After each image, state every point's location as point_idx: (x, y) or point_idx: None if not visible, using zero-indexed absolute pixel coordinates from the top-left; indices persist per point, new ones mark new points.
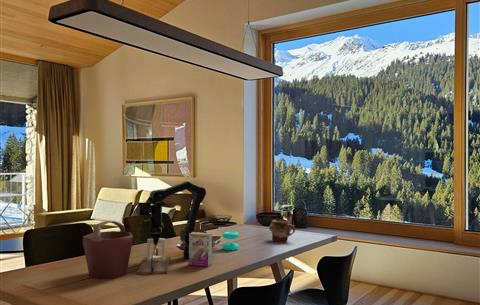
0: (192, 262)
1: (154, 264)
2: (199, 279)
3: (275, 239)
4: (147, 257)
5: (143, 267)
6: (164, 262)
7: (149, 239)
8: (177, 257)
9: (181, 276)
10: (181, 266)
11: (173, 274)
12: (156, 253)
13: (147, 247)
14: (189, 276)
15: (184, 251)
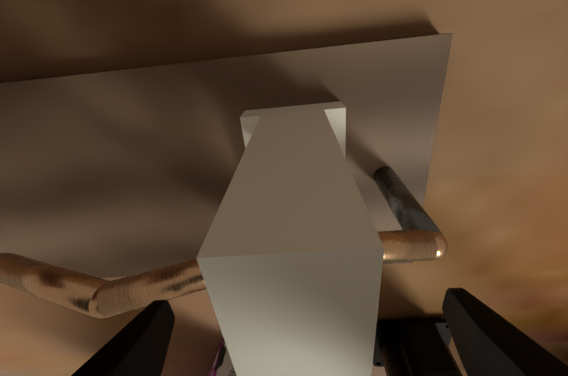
0: (211, 369)
1: (138, 193)
2: (5, 372)
3: None
4: (259, 118)
5: (11, 125)
6: None
7: (237, 299)
8: (432, 285)
9: (9, 325)
10: (195, 315)
11: (23, 296)
12: (387, 194)
13: (241, 162)
14: (27, 347)
15: (413, 361)
